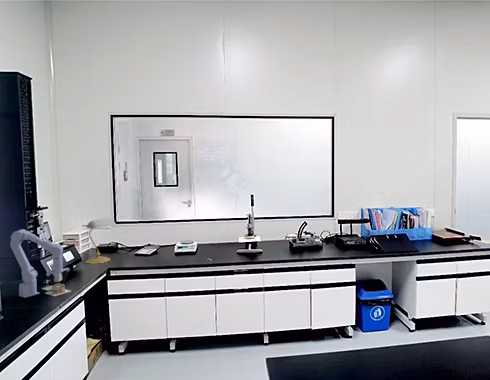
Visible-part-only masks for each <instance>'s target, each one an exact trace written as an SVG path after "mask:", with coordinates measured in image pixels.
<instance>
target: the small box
mask: <svg viewBox="0 0 490 380" xmlns="http://www.w3.org/2000/svg"><path fill="white" fill-rule="evenodd" d="M50 264H51V263H50ZM50 267H51V269H52V270H53V264H51V265H50ZM53 276H55V278H54V283H60V282H61V281H62V274H61V273H57V274H53ZM49 281H50V280H49Z"/></svg>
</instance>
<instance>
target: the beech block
mask: <svg viewBox="0 0 490 380" xmlns="http://www.w3.org/2000/svg"><path fill="white" fill-rule="evenodd" d="M51 286H52V290H51V291H52V292H53V293H56V294H59V293H63V292H65V289H66V284H64V283H60V282H56V283H54V285H51Z"/></svg>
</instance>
